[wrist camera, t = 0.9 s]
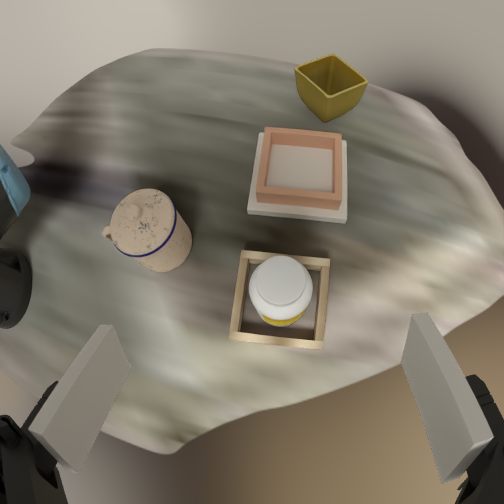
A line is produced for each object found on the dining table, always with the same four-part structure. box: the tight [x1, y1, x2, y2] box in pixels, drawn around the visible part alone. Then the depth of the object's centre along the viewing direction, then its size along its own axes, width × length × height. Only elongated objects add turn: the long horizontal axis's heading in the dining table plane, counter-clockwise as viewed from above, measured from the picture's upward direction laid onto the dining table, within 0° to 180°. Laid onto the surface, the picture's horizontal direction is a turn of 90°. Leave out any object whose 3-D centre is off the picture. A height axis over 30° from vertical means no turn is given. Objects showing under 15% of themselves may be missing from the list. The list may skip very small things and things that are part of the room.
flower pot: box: [294, 54, 368, 122], centre depth 46 cm, size 9×9×9 cm
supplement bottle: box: [249, 256, 313, 327], centre depth 35 cm, size 7×7×13 cm
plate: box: [247, 127, 347, 224], centre depth 44 cm, size 14×14×4 cm
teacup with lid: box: [102, 189, 192, 272], centre depth 39 cm, size 12×9×12 cm
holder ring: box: [228, 250, 330, 350], centre depth 40 cm, size 12×12×2 cm
